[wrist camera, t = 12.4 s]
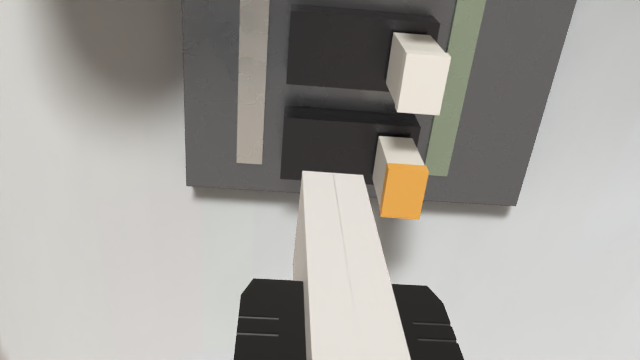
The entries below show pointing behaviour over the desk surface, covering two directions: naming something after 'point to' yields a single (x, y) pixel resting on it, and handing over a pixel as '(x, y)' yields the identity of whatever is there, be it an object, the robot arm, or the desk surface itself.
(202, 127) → the panel
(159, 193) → the desk surface
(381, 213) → the block
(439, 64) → the block
